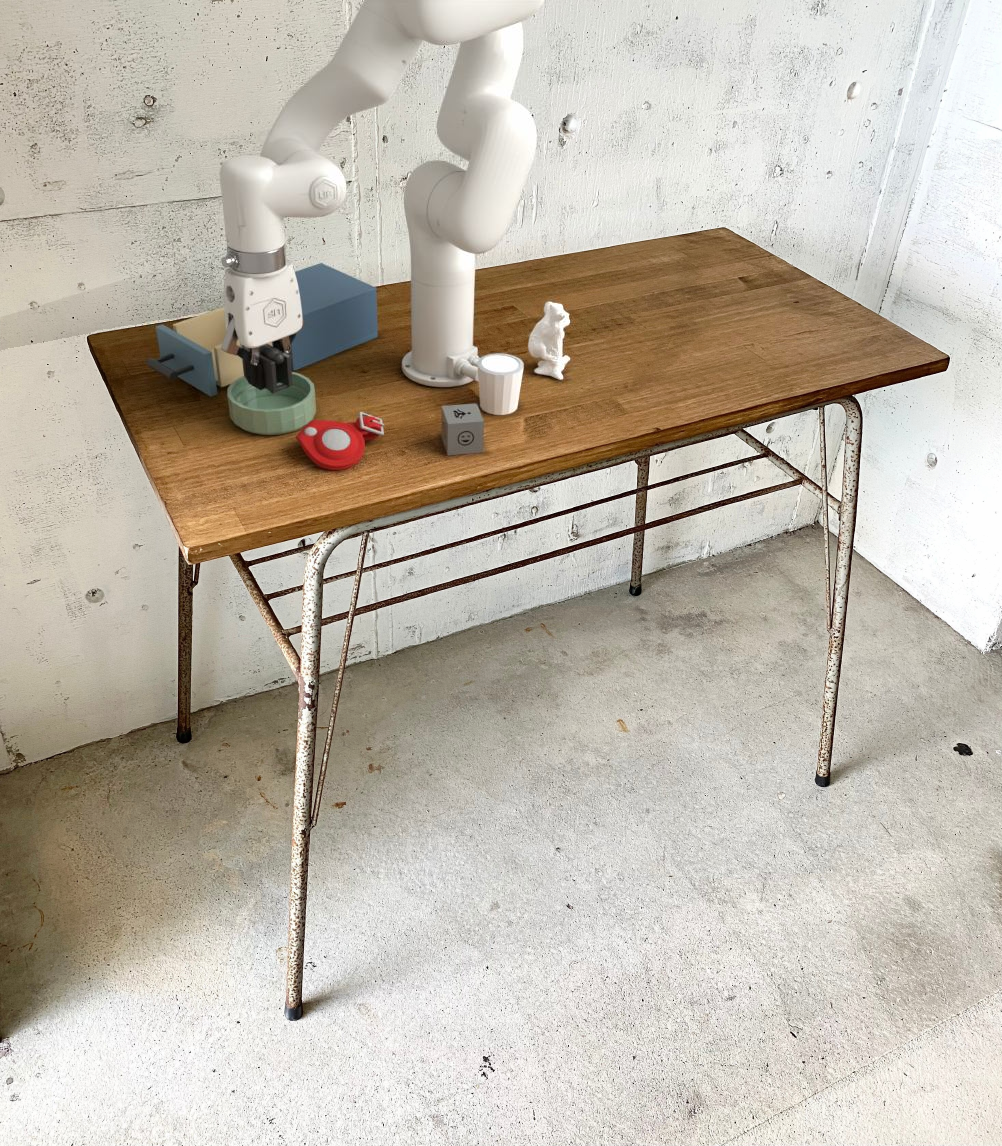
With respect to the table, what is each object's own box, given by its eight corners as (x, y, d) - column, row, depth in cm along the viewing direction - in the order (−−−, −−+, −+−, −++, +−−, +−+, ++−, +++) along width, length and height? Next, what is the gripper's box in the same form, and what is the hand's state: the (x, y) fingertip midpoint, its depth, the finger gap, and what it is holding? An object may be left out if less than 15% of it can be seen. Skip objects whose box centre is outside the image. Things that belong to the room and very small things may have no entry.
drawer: (185, 406, 158) (179, 363, 154) (137, 376, 165) (129, 335, 160) (299, 361, 171) (296, 320, 166) (250, 335, 177) (245, 295, 173)
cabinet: (293, 371, 170) (289, 319, 165) (240, 342, 177) (234, 291, 172) (378, 337, 180) (376, 287, 175) (324, 310, 187) (321, 262, 182)
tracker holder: (349, 471, 146) (284, 439, 147) (347, 492, 149) (283, 461, 151) (392, 414, 153) (329, 384, 154) (389, 435, 156) (328, 405, 157)
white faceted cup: (493, 389, 168) (495, 348, 163) (530, 404, 165) (533, 361, 160) (466, 407, 163) (467, 364, 159) (504, 421, 160) (506, 378, 156)
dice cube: (441, 436, 156) (441, 405, 153) (475, 434, 157) (476, 403, 154) (447, 455, 152) (448, 424, 149) (482, 452, 153) (484, 421, 150)
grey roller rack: (294, 387, 155) (291, 351, 151) (274, 395, 153) (271, 358, 149) (262, 369, 158) (258, 333, 155) (243, 377, 156) (239, 340, 153)
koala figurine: (575, 383, 170) (582, 310, 163) (532, 384, 170) (537, 311, 162) (565, 358, 177) (571, 287, 170) (524, 359, 176) (528, 288, 169)
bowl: (333, 416, 159) (331, 390, 157) (266, 446, 152) (263, 420, 150) (280, 386, 166) (278, 361, 163) (213, 414, 158) (209, 388, 156)
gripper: (222, 281, 137) (236, 410, 148) (324, 249, 147) (330, 372, 158) (187, 263, 141) (203, 390, 152) (288, 233, 151) (297, 355, 162)
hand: (268, 380), depth 155 cm, fingers closed on grey roller rack, 3 cm apart
